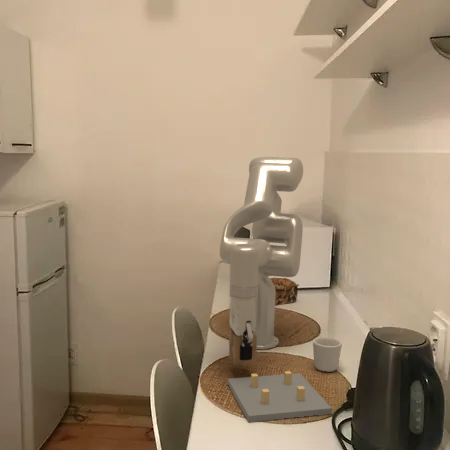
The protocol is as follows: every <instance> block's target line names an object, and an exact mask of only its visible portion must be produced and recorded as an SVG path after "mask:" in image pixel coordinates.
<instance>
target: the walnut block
mask: <svg viewBox="0 0 450 450" xmlns="http://www.w3.org/2000/svg"><path fill="white" fill-rule="evenodd" d="M228 333H229V335H228V336H229V337H228V357H229V359H230V361H231V362H232V364H233V365H234V366H243V365H252V364H257V349H256V347H257V335H256V333H255V334H254V335H253V342H252V359H251V360H240V345H241V335H240V336H237V335H236V334H235V332H234V331H233V330H232V328H231V327H230V328H229V332H228ZM243 334H247V333H246V332H244V333H243ZM245 339H247V337H244V340H245Z"/></svg>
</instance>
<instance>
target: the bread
mask: <svg viewBox="0 0 450 450" xmlns="http://www.w3.org/2000/svg"><path fill="white" fill-rule="evenodd" d="M269 278H270V280H271V281H272V283H273V284H274V286H275V292H276V293H275V306H282V305H286V304H290V303H291V304H292V303H296V302H297V297H298V292H299V291H298V289H299V288H298V284H297V283H296V282H295V281H293V280H291V279H290V278H288V277H269Z"/></svg>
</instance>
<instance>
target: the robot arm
mask: <svg viewBox="0 0 450 450" xmlns="http://www.w3.org/2000/svg"><path fill="white" fill-rule="evenodd" d="M248 174H249V175H248V180H247V186H246V191H245V198H244V203H243V205H242V206H241V207H240V208H239V209H237V210H236V211H235V212H233V214H232V215H231V216H230V217H229V218H228V219H227V221H226V223H225V225H224V227H223V230H222V235H221V240H220V243H219V257H220V259H221V261H222V262H223V263H225V264H228V265H229V266H230V267H229V271H230V272H229V275H230V276H229V296H230V304H229V305H230V309H229V320H228V321H229V322H228V323H229V326H230V329H231V328H232V330H233V331H234V332H235V334H236V335H237V336H240V335H241V345H240V360H251V359H252V342H253V335H254V334H255V333H256V335H257V347H256V350H267V349H269V350H270V349H273V348H275V347H277V346H278V345H279V338H278V337H277V336H275V335H274V334H275V315H276V314H275V313H276V312H275V311H276V305H275V293H276V292H275V286H274V284H273V283H272V281H271V280H270V278H271V277H278V278H293V277H296V276H297V275H298V273H299V270H300V265H301V255H302V243H303V242H302V241H303V229H304V228H303V220H302V219H301V217H300V216H299V215H297V214H294V213H284V212H283V213H282V204H283V203H282V201H283V200H282V197H281V196H280V194H279V193H278V192H289V193H291V192H294V191H296V190H297V188H298V187H299V185H300V183H301V181H302V179H303V175H304V165H303V161H302V160H301V159H299V158H297V157H280V156H279V157H277V156H275V157H274V156H262V157H261V156H259V157H256V158H254V159H251V160H250V162H249V164H248ZM250 224H252V227H251V233H252V235H251V236H252V237H253V238H248V237H247V238H245V237H235V235H236V234H237V232H238V231H239V230H241V228H244V227H245V226H248V225H250ZM270 243H273V244H270ZM275 244H276V245H275ZM277 244H284V245H277ZM244 332H246V333H247V334H243V333H244ZM244 337H247V339H245V340H244Z"/></svg>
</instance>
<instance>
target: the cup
mask: <svg viewBox="0 0 450 450" xmlns="http://www.w3.org/2000/svg"><path fill="white" fill-rule="evenodd" d="M342 345H343V343H342V341H341V340H339V338H335V337H330V336H318V337H317V336H316V338H314V339H313V340H312V350H313V364H314V367H315V369H317V370H318V371H322V372H325V371H326V372H328V373H329V372H331V373H332V372H334V371H336V370H337V369H338V367H339V363H340V358H341V351H342Z"/></svg>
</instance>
